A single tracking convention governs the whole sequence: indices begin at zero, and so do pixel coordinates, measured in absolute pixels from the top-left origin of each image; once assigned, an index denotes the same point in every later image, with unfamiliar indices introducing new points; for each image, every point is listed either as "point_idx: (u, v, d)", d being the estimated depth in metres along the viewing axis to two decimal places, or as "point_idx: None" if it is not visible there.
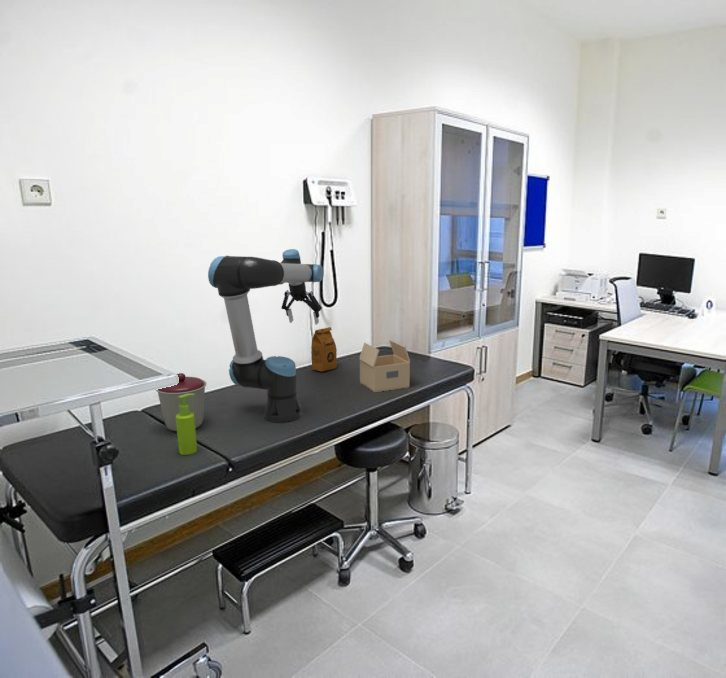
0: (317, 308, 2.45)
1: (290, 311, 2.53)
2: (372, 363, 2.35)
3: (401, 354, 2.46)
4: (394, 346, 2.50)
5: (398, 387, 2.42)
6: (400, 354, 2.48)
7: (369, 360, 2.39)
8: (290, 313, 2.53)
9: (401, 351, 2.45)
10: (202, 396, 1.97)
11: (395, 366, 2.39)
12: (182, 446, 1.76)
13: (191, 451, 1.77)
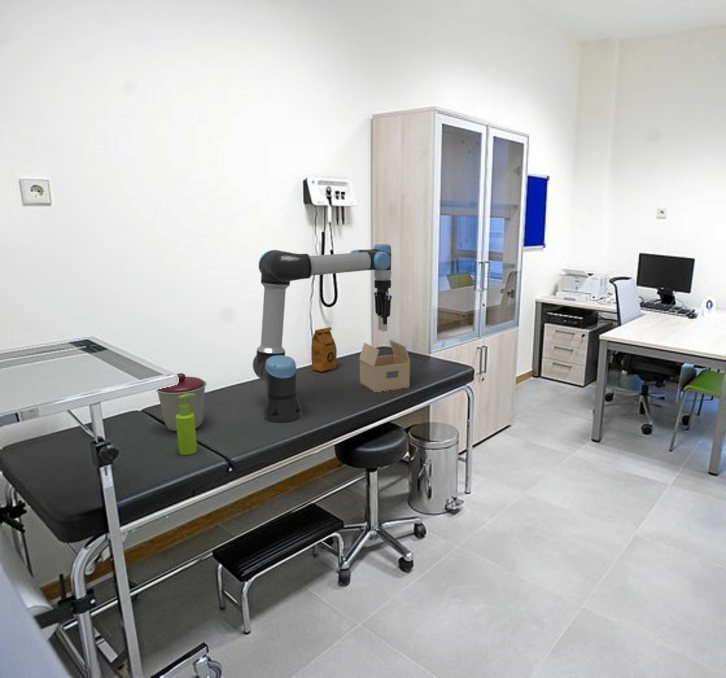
0: (384, 313, 2.35)
1: None
2: (372, 363, 2.35)
3: (401, 354, 2.46)
4: (394, 346, 2.50)
5: (398, 387, 2.42)
6: (400, 354, 2.48)
7: (369, 360, 2.39)
8: (381, 320, 2.41)
9: (401, 351, 2.45)
10: (202, 396, 1.97)
11: (395, 366, 2.39)
12: (182, 446, 1.76)
13: (191, 451, 1.77)
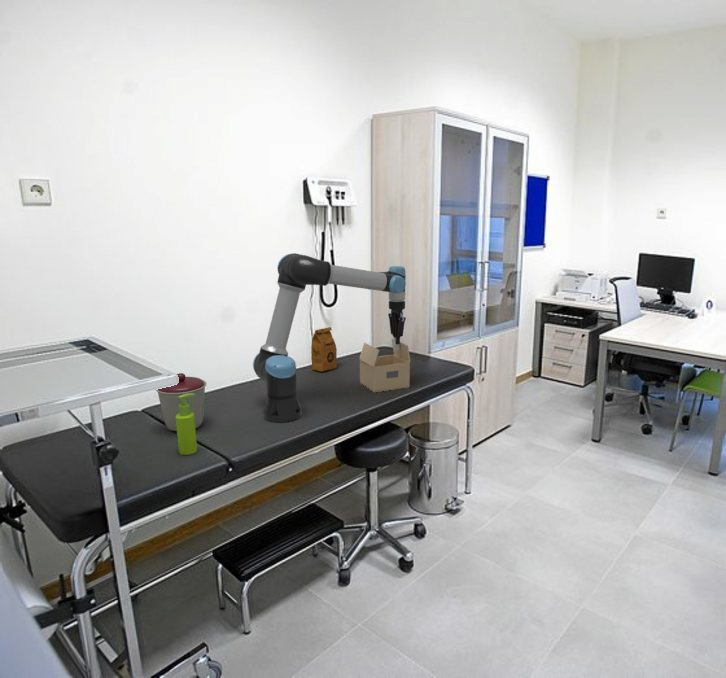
0: (397, 333, 2.41)
1: None
2: (372, 363, 2.35)
3: (402, 354, 2.46)
4: None
5: (398, 387, 2.42)
6: (401, 354, 2.48)
7: (369, 360, 2.39)
8: None
9: (402, 350, 2.45)
10: (202, 396, 1.97)
11: (395, 366, 2.39)
12: (182, 446, 1.76)
13: (191, 451, 1.77)
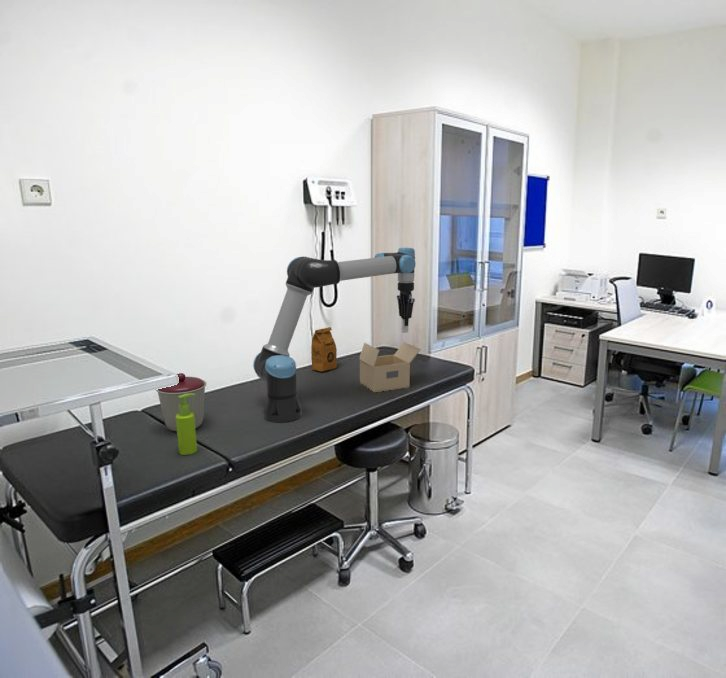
0: (406, 314, 2.41)
1: None
2: (372, 363, 2.35)
3: (406, 354, 2.48)
4: (404, 347, 2.53)
5: (398, 387, 2.42)
6: (404, 355, 2.49)
7: (369, 360, 2.39)
8: None
9: (410, 352, 2.47)
10: (202, 396, 1.97)
11: (395, 366, 2.39)
12: (182, 446, 1.76)
13: (191, 451, 1.77)
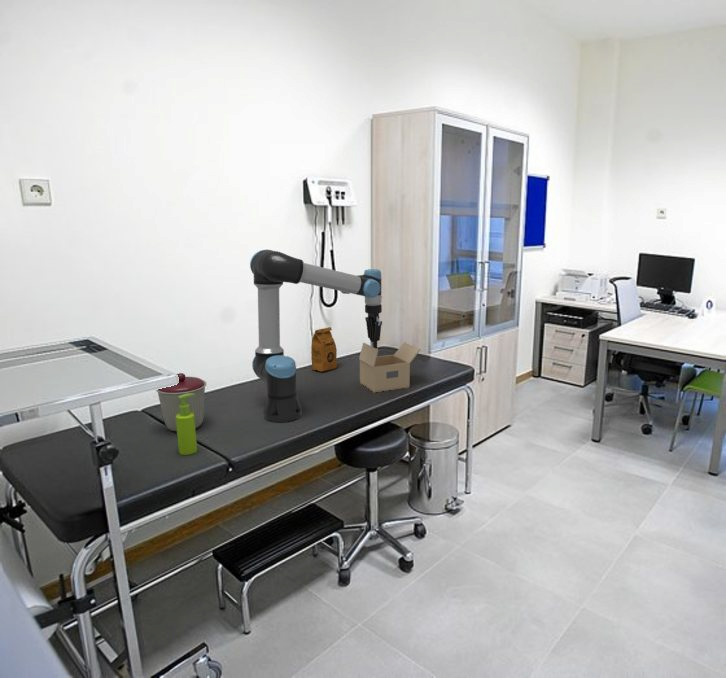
0: (374, 337, 2.37)
1: None
2: (372, 363, 2.35)
3: (406, 354, 2.48)
4: (404, 347, 2.53)
5: (398, 387, 2.42)
6: (404, 355, 2.49)
7: (369, 360, 2.39)
8: None
9: (410, 352, 2.47)
10: (202, 396, 1.97)
11: (395, 366, 2.39)
12: (182, 446, 1.76)
13: (191, 451, 1.77)
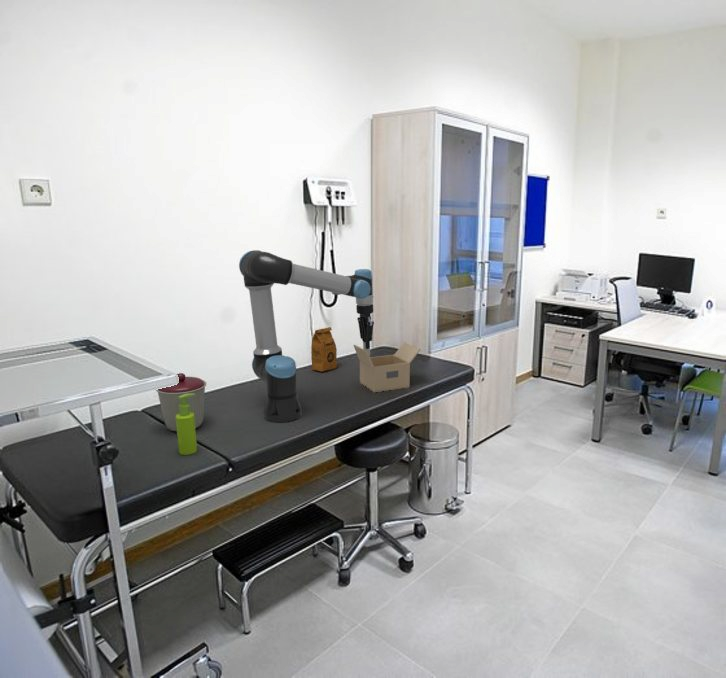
0: (366, 338, 2.35)
1: None
2: (370, 364, 2.35)
3: (406, 354, 2.48)
4: (404, 347, 2.53)
5: (398, 387, 2.42)
6: (404, 355, 2.49)
7: (367, 361, 2.38)
8: None
9: (410, 352, 2.47)
10: (202, 396, 1.97)
11: (395, 366, 2.39)
12: (182, 446, 1.76)
13: (191, 451, 1.77)
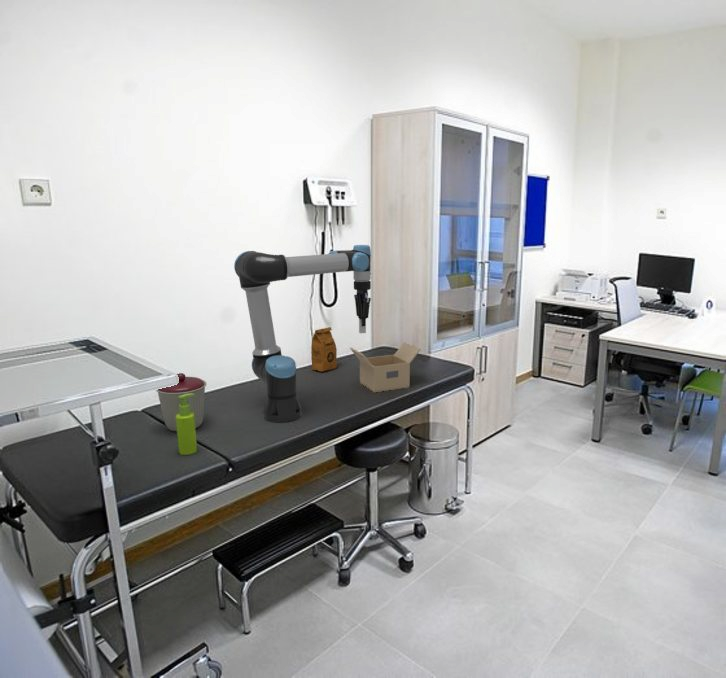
0: (363, 314, 2.32)
1: None
2: (370, 365, 2.35)
3: (406, 354, 2.48)
4: (404, 347, 2.53)
5: (398, 387, 2.42)
6: (404, 355, 2.49)
7: (366, 362, 2.38)
8: None
9: (410, 352, 2.47)
10: (202, 396, 1.97)
11: (395, 366, 2.39)
12: (182, 446, 1.76)
13: (191, 451, 1.77)
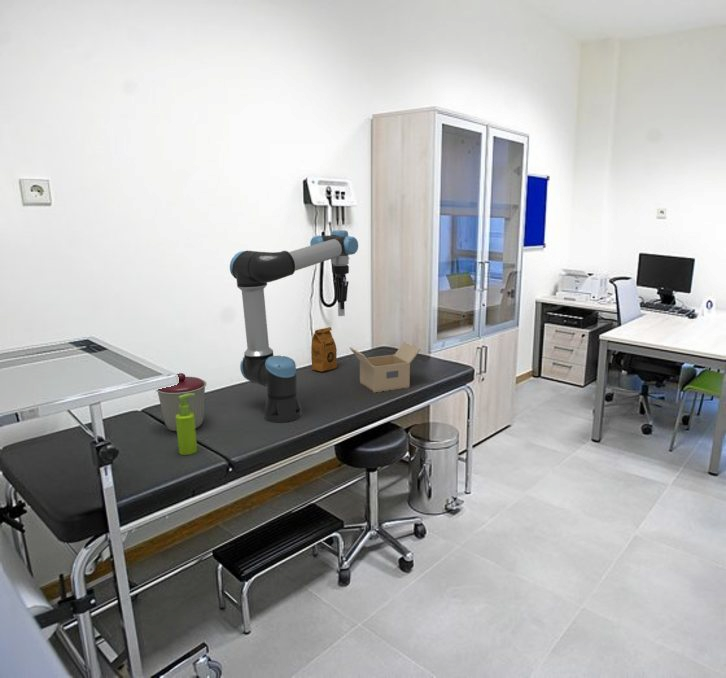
0: (341, 298, 2.40)
1: None
2: (370, 365, 2.35)
3: (406, 354, 2.48)
4: (404, 347, 2.53)
5: (398, 387, 2.42)
6: (404, 355, 2.49)
7: (366, 362, 2.38)
8: None
9: (410, 352, 2.47)
10: (202, 396, 1.97)
11: (395, 366, 2.39)
12: (182, 446, 1.76)
13: (191, 451, 1.77)
